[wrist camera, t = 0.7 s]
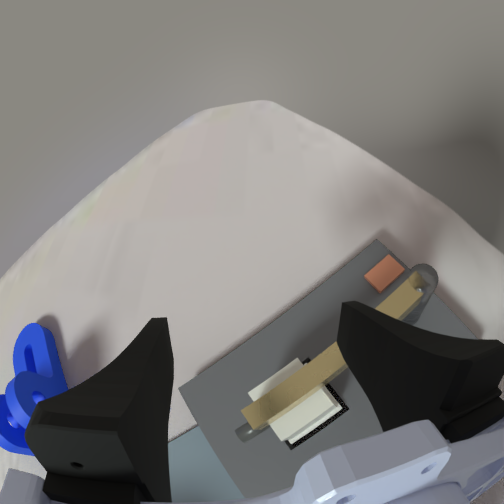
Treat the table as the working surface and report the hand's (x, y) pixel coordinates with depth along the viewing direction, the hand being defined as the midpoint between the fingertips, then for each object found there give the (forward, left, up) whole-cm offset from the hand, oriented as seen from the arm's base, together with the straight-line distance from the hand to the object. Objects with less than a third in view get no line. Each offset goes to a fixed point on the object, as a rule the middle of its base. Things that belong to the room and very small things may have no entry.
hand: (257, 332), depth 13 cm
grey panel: (-1, -2, -15) cm, 15 cm away
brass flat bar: (-1, -3, -13) cm, 13 cm away
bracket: (+17, +28, -15) cm, 36 cm away
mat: (-3, +14, -15) cm, 21 cm away
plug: (-1, +2, -15) cm, 15 cm away
